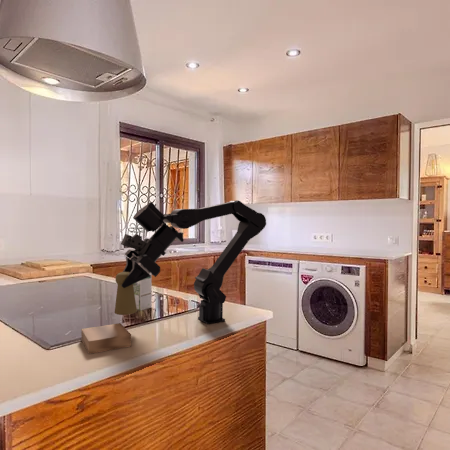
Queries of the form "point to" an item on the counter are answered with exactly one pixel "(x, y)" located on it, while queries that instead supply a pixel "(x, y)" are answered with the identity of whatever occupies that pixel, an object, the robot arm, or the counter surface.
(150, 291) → the syrup box
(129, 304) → the olive pepper mill
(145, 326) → the counter surface
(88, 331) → the plinth
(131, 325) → the counter surface
